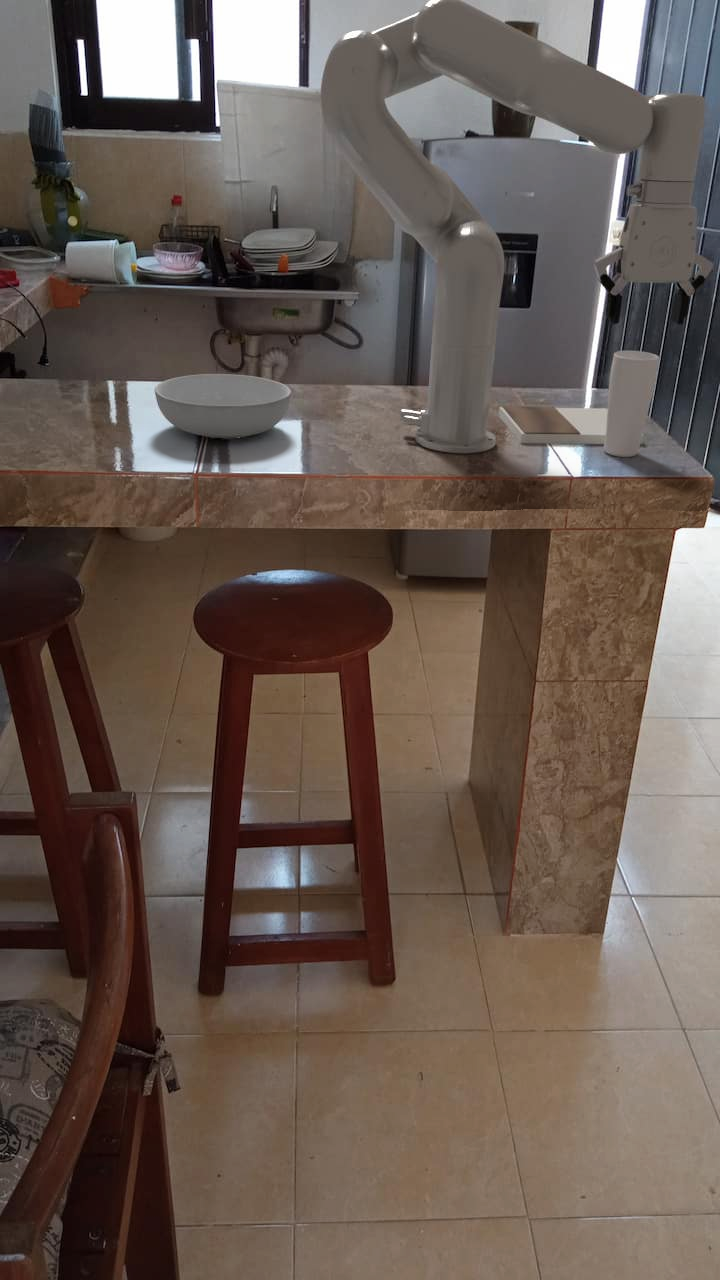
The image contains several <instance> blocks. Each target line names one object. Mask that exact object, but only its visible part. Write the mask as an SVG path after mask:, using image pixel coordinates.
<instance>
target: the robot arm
mask: <svg viewBox="0 0 720 1280" xmlns="http://www.w3.org/2000/svg"><path fill="white" fill-rule="evenodd" d="M442 76H445V77H447V78H450V79H451V80H454V81H456V82H457V83H459V84H462V85H463V86H465V87H468V88H470V89H472V90H474V91H476V92H478V93H480V94H482V95H483V96H485V97H487V98H490V99H491V100H493V101H495V102H497V103H499V104H501V105H503V106H506V107H507V108H509V109H512V110H514V111H517V112H519V113H521V114H525V115H528V116H533V117H537V118H539V119H543V120H545V121H547V122H550V123H552V124H554V125H556V126H558V127H560V128H563V129H564V130H566V131H569V132H571V133H572V134H575V135H577V136H578V137H581V138H583V139H585V140H587V141H589V142H590V143H592V144H593V145H594V146H595V147H597V148H598V149H599V150H600V151H604V152H607V153H611V154H617V155H623V154H628V153H631V152H633V151H635V150H641V157H640V165H639V170H638V171H639V172H638V178H637V179H636V183H634V184H629V185H628V186H627V188H626V195H627V196H631V197H633V200H634V203H631V204H630V205H629V207H628V211H627V213H626V214H627V215H626V216H625V221H624V225H623V227H622V230H621V235H620V238H619V239H620V240H619V244H618V248H615V249H614V250H612V251H611V252H608V253H607V254H604V255H603V256H601V257H599V258H597V259H595V260H594V261H593V264H592V265H593V268H594V270H595V271H594V272H595V273H596V276H597V280H598V281H599V283H600V284H601V285H602V287H603V288H604V289H605V291H606V292H607V298H606V305H605V316H606V317H607V321H608V322H609V323H611V324H612V325H618V324H620V323H619V322H620V316H621V309H622V303H623V295H621V291H622V290H623V289H624V288H625V287H626V286H627V285H628V284H629V283H630V282H632V283H639V284H642V283H643V284H646V283H647V284H649V283H650V284H651V283H652V284H655V283H656V284H661V283H662V284H675V286H676V287H677V289H678V291H677V292H675V294H674V297H673V303H672V307H671V308H672V309H671V315H670V321H672V322H673V323H675V324H676V325H683V324H684V319H685V318H687V315H688V311H689V303H690V298H691V296H693V295H694V294H695V291H697V290H698V289H699V288H700V287H701V286H702V285H703V284H704V283H705V282H706V281H705V280H706V278H707V277H708V276H709V274H710V272H711V271H712V269H713V268H714V263H713V261H711V260H709V259H708V258H706V257H705V256H703V255H702V254H700V253H698V252H697V251H696V249H697V248H696V247H697V236H698V235H697V233H698V232H697V228H698V212H697V207H696V206H693V205H692V201H693V199H692V198H693V193H694V188H695V181H696V174H697V170H698V169H697V168H698V161H699V157H700V149H701V146H702V145H701V144H702V138H703V132H704V125H705V119H706V113H707V101H706V99H705V97H704V96H703V95H701V94H697V93H687V92H685V93H683V92H682V93H679V92H678V93H677V92H675V93H674V92H672V93H671V92H670V93H668V92H666V93H658V94H657V95H647V94H643V93H642V92H640V91H638V90H636V89H635V88H633V87H631V86H629V85H627V84H625V83H624V82H621V81H620V80H617V79H615V78H613V77H611V76H610V75H608V74H606V73H604V72H602V71H599V70H598V69H595V68H593V67H591V66H589V65H587V64H586V63H583V62H581V61H580V60H577V59H575V58H573V57H571V56H569V55H568V54H565V53H563V52H561V50H560V51H559V50H558V49H557V48H555V47H553V46H551V45H549V44H548V43H546V42H544V41H542V40H539V39H538V38H536V37H534V36H531V35H530V34H528V33H526V32H523V31H521V29H518V28H515V27H514V26H512V25H509V24H507V23H506V22H504V21H502V20H501V19H498V18H496V17H494V16H492V15H490V14H488V13H486V12H484V11H482V10H480V9H478V8H476V7H475V6H472V5H470V4H469V3H466V2H465V1H462V0H428V2H426V3H425V4H424V5H423V6H422V8H421V9H420V10H419V12H417V13H415V14H412V15H411V16H408V17H406V18H404V19H402V20H399V21H397V22H395V23H392V24H390V25H387V26H384V27H382V28H379V29H377V30H375V31H372V32H371V31H369V30H362V29H360V30H354V31H349V32H348V33H345V34H344V35H343V36H341V37H340V38H339V39H338V40H337V41H336V43H335V44H334V45H333V47H332V48H331V50H330V51H329V54H328V56H327V59H326V62H325V64H324V69H323V73H322V78H321V85H320V106H321V113H322V117H323V121H324V124H325V127H326V130H327V133H328V134H329V136H330V139H331V141H332V142H333V144H334V146H335V147H336V149H337V150H338V152H339V153H340V155H341V156H342V157H343V158H344V160H345V161H346V162H347V164H348V165H349V166H350V167H351V168H352V170H353V171H354V172H355V173H356V175H357V176H358V178H359V179H360V180H361V181H362V182H363V183H364V185H365V187H367V189H368V190H369V191H370V193H371V194H372V195H373V196H374V197H375V198H376V200H377V201H378V202H379V203H380V205H381V206H382V207H383V208H384V209H385V211H386V213H388V214H389V216H390V218H391V219H392V220H393V222H394V223H395V225H397V227H398V228H399V229H400V230H401V231H402V232H404V233H405V234H408V235H410V236H412V237H413V238H414V239H415V240H416V241H417V243H419V245H420V247H422V248H423V250H424V251H425V252H426V253H427V254H428V255H429V256H430V258H431V259H432V260H433V261H434V262H435V264H436V265H435V267H436V268H435V287H434V303H433V318H432V331H431V332H432V334H431V350H430V351H431V352H430V363H429V377H428V378H429V380H428V391H427V392H428V395H427V405H426V407H427V408H426V409H421V411H418V410H417V411H416V410H414V409H405V408H402V409H401V412H400V416H399V417H400V422H403V425H406V426H407V425H408V426H416V427H417V428H418V430H416V432H415V439H414V440H415V442H416V443H417V444H419V445H420V446H422V447H424V448H426V449H430V450H433V451H438V452H441V453H442V452H443V453H449V454H450V453H451V454H475V453H476V454H477V453H482V452H486V451H489V450H491V449H493V448H494V447H495V446H496V441H497V437H496V435H495V434H494V433H492V432H491V431H489V430H488V423H489V415H490V414H489V412H490V403H491V402H490V401H491V393H492V384H493V383H492V382H493V371H494V363H495V362H494V361H495V354H496V340H497V331H498V321H499V313H500V303H501V297H502V291H503V290H502V289H503V282H504V274H505V253H504V250H503V247H502V246H503V245H502V243H501V241H500V239H499V238H500V237H499V236H498V235H497V233H496V232H495V230H494V229H493V228H492V226H491V225H490V224H489V223H488V222H487V220H486V219H485V218H484V217H483V215H481V213H480V212H479V210H477V208H476V206H475V205H473V203H472V202H471V201H470V200H469V198H468V197H467V196H466V195H465V194H464V192H463V191H462V190H461V189H460V188H459V187H458V185H457V184H456V183H455V182H454V180H453V179H452V178H451V177H450V176H449V175H448V173H447V172H446V171H445V169H442V167H440V166H439V165H437V164H435V163H431V162H430V160H428V158H426V156H425V155H424V154H423V153H422V151H420V149H419V148H418V147H417V146H416V145H415V144H414V142H413V141H412V140H411V139H410V137H409V136H408V135H407V133H406V131H405V130H404V129H403V128H402V126H401V125H400V124H399V123H398V122H397V121H396V119H395V118H394V117H393V115H392V114H391V113H390V111H389V109H388V107H387V105H386V104H387V103H386V99H388V98H390V97H393V96H396V95H397V94H401V93H402V92H405V91H409V90H411V89H413V88H416V87H419V86H420V85H421V86H422V85H423V84H425V83H428V82H430V81H433V80H435V79H438V78H440V77H442ZM614 263H615V275H614V277H612V278H611V277H610V276H609V275H608V270H607V268H608V266H610V265H612V264H614ZM695 265H696V266H698V270H697V271H696V273H695V274H694V275H693V271H694V266H695ZM692 275H693V276H692Z"/></svg>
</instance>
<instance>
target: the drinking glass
mask: <svg viewBox="0 0 720 1280" xmlns="http://www.w3.org/2000/svg"><path fill="white" fill-rule="evenodd" d="M659 364H660V356H659V355H657V354H654V353H652V352H647V351H641V350H618V351H615V352H614V353H613V357H612V362H611V367H610V372H609V373H610V374H609V381H608V391H607V392H608V395H607V408H606V409H607V421H606V434H605V442H604V444H603V450H604V452H605V453H606V454H608V455H610V456H613V457H619V458H629V457H630V458H631V457H634V456H637V455H638V453H639V451H640V445H641V444H640V441H641V437H642V434H644V433H643V432H644V428H645V426H646V422H647V417H648V414H649V410H650V407H651V403H652V399H653V394H654V390H655V386H656V381H657V378H658V377H657V376H658V369H659Z"/></svg>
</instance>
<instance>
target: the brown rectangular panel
mask: <svg viewBox="0 0 720 1280" xmlns="http://www.w3.org/2000/svg"><path fill="white" fill-rule="evenodd" d="M502 407H503V408H504V410H505V411H506V412H507V413H508V414H509V416H510V417H511V418H512V419H513V420H514V422H515V423H516V424H517V425H518V426H519V427H520V429H521V430H522V431H523V432H524V433H525V434H580V432H579V431H578V430H577V429H576V428H575V427H574V426H573V425H572V424H571V423H570V422H569V421H568V420H567V419H566V418H565V417H564V416H563V415H562V414H561V413H560V412H559V411H558V410H557V409H556V408H557V407H555V406H532V405H531V406H525V405H523V406H522V405H520V406H519V405H513V406H512V405H502Z"/></svg>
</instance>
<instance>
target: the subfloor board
mask: <svg viewBox="0 0 720 1280" xmlns="http://www.w3.org/2000/svg"><path fill="white" fill-rule="evenodd" d="M555 408H556V409H557V410H558V411H559V412H560V413H561V414H562V415H563V416H564V417H565V418H566V419H567V420H568V421H569V422H570V423H571V424H572V425H573V426H574V427H575V428H576V429H577V430H578V431H579V432H580V434H525V433H524V432H523V431H522V430H521V429H520V427H519V426H518V425H517V424H516V423H515V422H514V420H513V419H512V418H511V417H510V416H509V414H508V413H507V412H506V411H505V410H504V408H503V406H499V409H498V417H499V418H500V420H501V421H502V422H503V423H504V425H505V426H506V427H507V428H508V430H509V431H510V432H511V433H512V435H513V436H514V437H515V438H516V440H517V441H518V442H519V443H520V444H546V445H547V444H548V445H549V444H550V445H551V444H554V445H555V444H556V445H558V444H560V445H561V444H562V445H564V444H569V445H570V444H571V445H574V444H575V445H576V444H577V445H578V444H579V445H604V442H605V434H606V421H607V408H599V407H598V408H595V407H594V408H592V407H591V408H589V407H588V408H586V407H583V408H582V407H581V408H580V407H555ZM644 438H645V434H644V433H642V437H641V441H640V445H643V444H644Z"/></svg>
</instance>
